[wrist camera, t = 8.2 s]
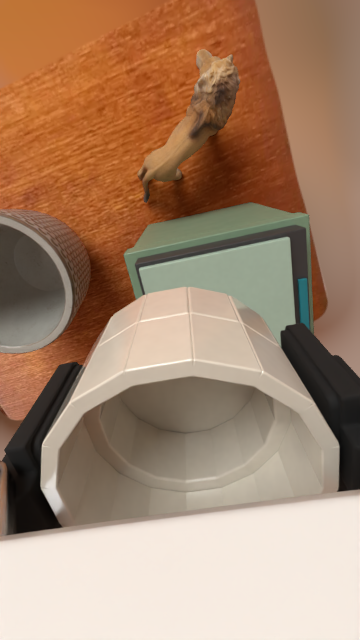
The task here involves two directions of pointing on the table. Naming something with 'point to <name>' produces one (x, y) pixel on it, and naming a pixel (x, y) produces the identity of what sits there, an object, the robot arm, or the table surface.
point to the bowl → (184, 416)
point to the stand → (213, 234)
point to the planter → (38, 279)
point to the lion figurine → (195, 119)
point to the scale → (241, 273)
